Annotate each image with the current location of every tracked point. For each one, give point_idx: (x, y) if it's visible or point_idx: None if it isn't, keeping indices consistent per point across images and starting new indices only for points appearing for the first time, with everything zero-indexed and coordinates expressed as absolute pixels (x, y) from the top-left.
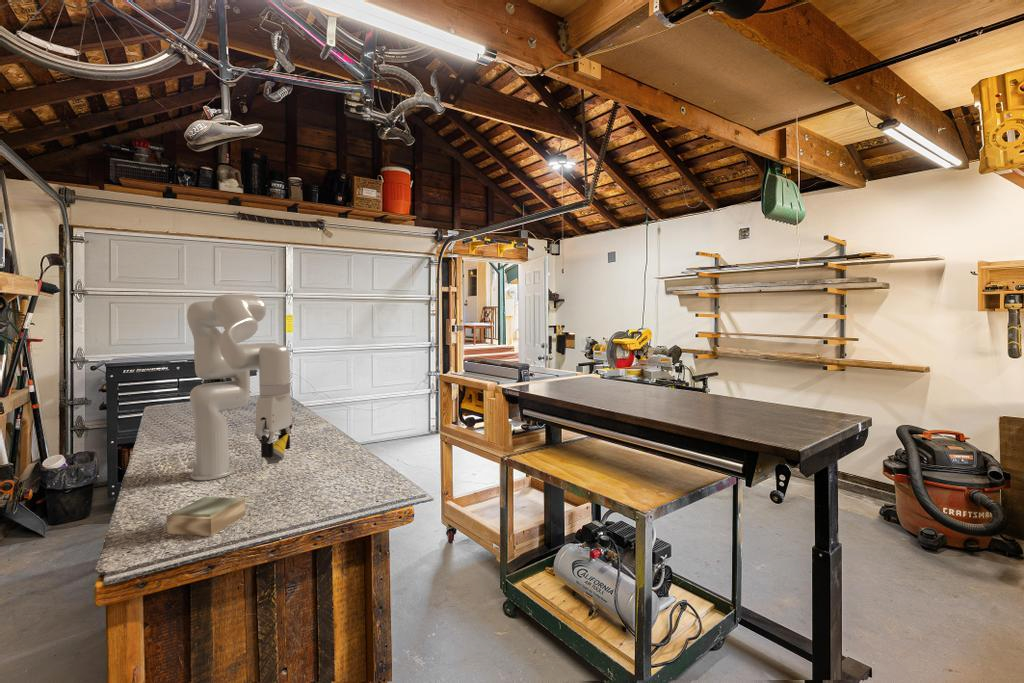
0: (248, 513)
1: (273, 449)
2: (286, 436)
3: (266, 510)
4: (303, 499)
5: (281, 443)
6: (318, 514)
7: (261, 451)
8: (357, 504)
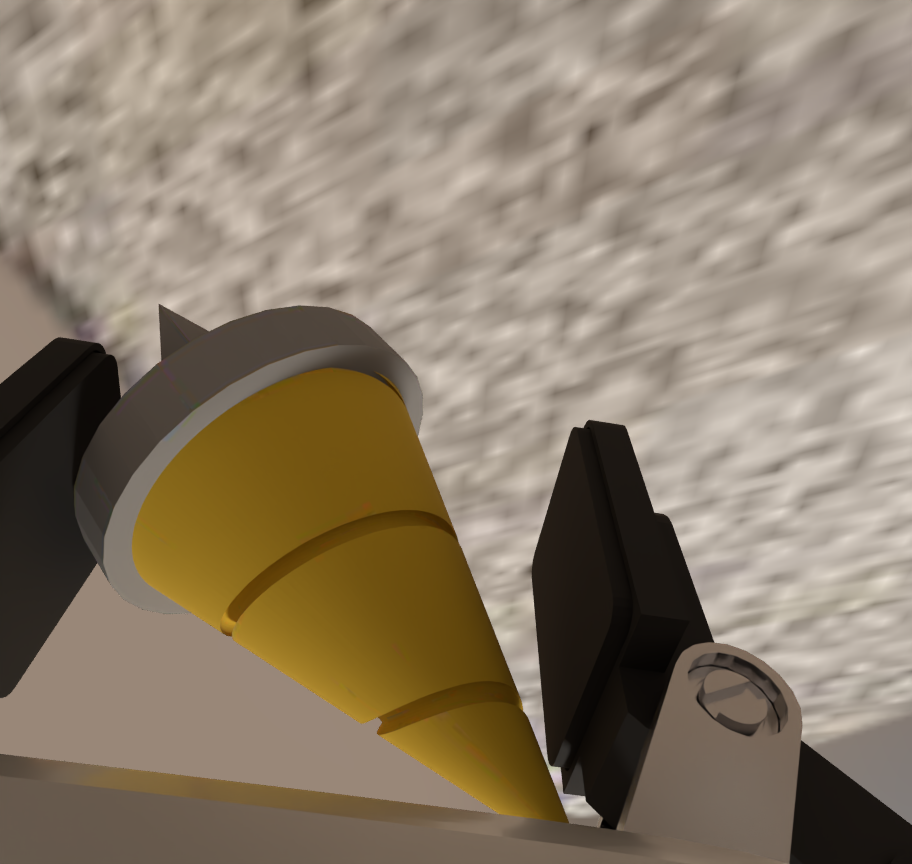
0: None
1: (108, 580)
2: (470, 793)
3: (401, 114)
4: (598, 320)
5: (296, 679)
6: None
7: (5, 386)
8: None
